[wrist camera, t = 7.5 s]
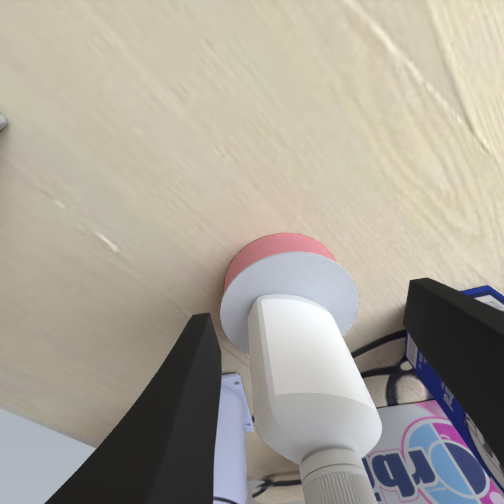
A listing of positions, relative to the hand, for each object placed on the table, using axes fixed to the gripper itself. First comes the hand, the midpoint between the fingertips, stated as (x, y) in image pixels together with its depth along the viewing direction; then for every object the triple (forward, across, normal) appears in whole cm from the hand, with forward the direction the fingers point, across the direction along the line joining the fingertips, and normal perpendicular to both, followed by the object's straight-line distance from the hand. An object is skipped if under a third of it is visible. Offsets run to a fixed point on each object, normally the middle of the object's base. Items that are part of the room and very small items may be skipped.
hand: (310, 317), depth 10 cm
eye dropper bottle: (+7, 0, +6) cm, 9 cm away
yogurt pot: (+10, 0, +6) cm, 11 cm away
